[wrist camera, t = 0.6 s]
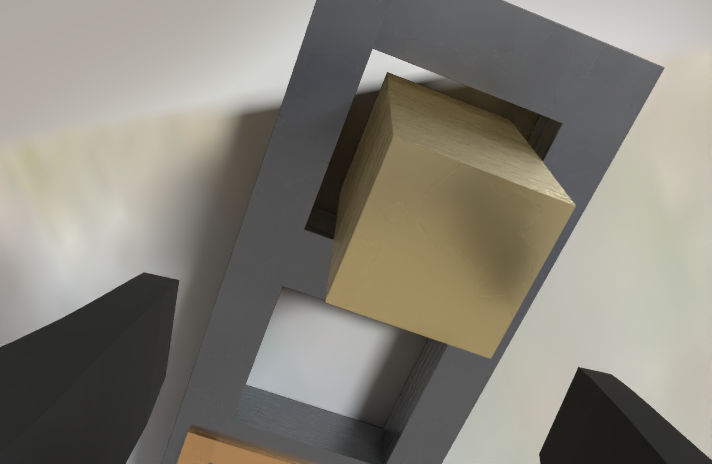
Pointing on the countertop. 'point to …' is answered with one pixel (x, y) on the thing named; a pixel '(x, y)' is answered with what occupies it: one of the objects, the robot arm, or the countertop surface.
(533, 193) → the tan rectangular block
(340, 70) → the grey rectangular frame
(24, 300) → the countertop surface
